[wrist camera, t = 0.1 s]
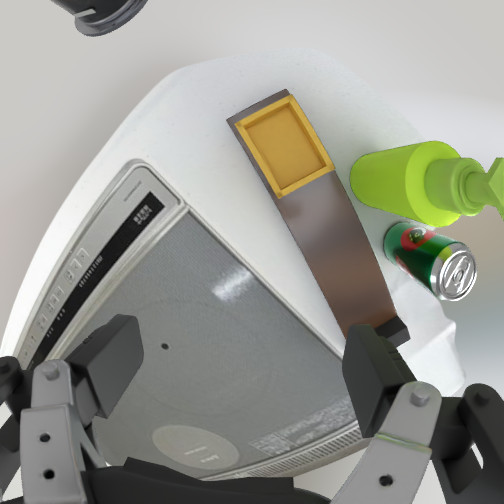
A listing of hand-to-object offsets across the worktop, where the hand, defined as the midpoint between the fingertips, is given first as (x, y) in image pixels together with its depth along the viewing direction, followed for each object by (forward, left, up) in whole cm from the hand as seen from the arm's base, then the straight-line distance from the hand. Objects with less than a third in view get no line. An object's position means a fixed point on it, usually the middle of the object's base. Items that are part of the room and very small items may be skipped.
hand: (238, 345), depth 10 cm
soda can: (0, +16, -21) cm, 27 cm away
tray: (-9, +2, -19) cm, 22 cm away
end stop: (+12, +14, -20) cm, 27 cm away
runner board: (0, +7, -21) cm, 22 cm away
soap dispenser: (-6, +13, -21) cm, 26 cm away
